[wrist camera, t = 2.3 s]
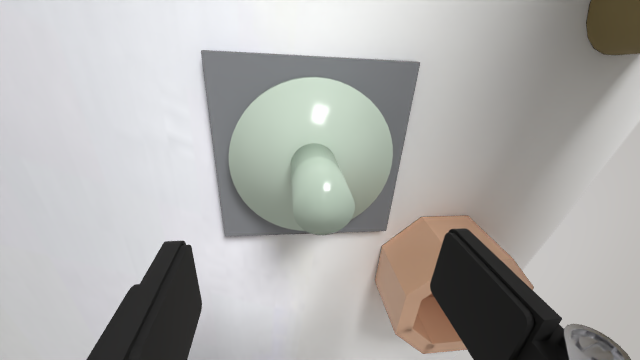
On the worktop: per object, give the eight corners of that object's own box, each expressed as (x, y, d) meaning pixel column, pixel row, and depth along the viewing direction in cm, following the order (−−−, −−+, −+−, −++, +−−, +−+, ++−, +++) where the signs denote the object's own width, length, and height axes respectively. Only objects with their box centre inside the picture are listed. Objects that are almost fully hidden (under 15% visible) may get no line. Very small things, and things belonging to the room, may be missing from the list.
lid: (223, 72, 15) (189, 91, 9) (400, 79, 16) (458, 100, 11) (238, 224, 19) (221, 294, 14) (375, 220, 21) (407, 283, 15)
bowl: (387, 217, 21) (415, 264, 17) (498, 214, 23) (551, 257, 18) (370, 302, 26) (388, 357, 21) (464, 295, 27) (500, 346, 23)
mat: (204, 50, 15) (201, 50, 14) (415, 61, 16) (420, 62, 16) (226, 231, 20) (224, 236, 20) (383, 226, 22) (386, 230, 21)
